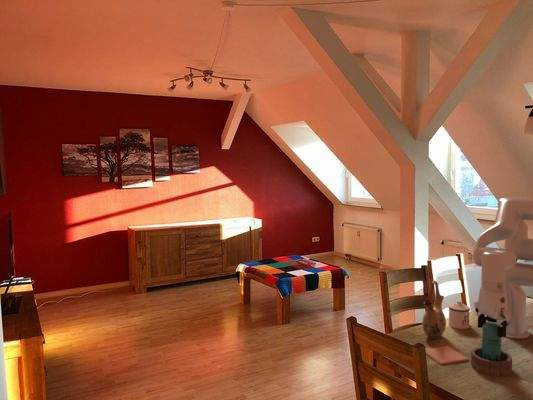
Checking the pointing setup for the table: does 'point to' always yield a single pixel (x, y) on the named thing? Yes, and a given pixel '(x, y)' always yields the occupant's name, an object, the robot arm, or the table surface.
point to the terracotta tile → (445, 355)
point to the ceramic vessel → (434, 314)
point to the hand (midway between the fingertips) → (491, 332)
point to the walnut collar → (491, 363)
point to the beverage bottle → (491, 341)
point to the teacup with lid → (459, 315)
